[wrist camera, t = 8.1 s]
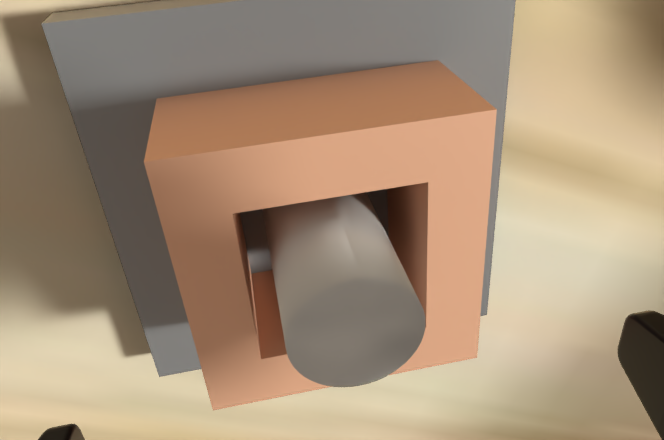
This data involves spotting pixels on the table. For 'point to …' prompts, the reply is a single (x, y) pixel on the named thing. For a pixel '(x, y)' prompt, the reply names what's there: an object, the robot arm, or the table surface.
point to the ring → (315, 184)
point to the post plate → (235, 59)
